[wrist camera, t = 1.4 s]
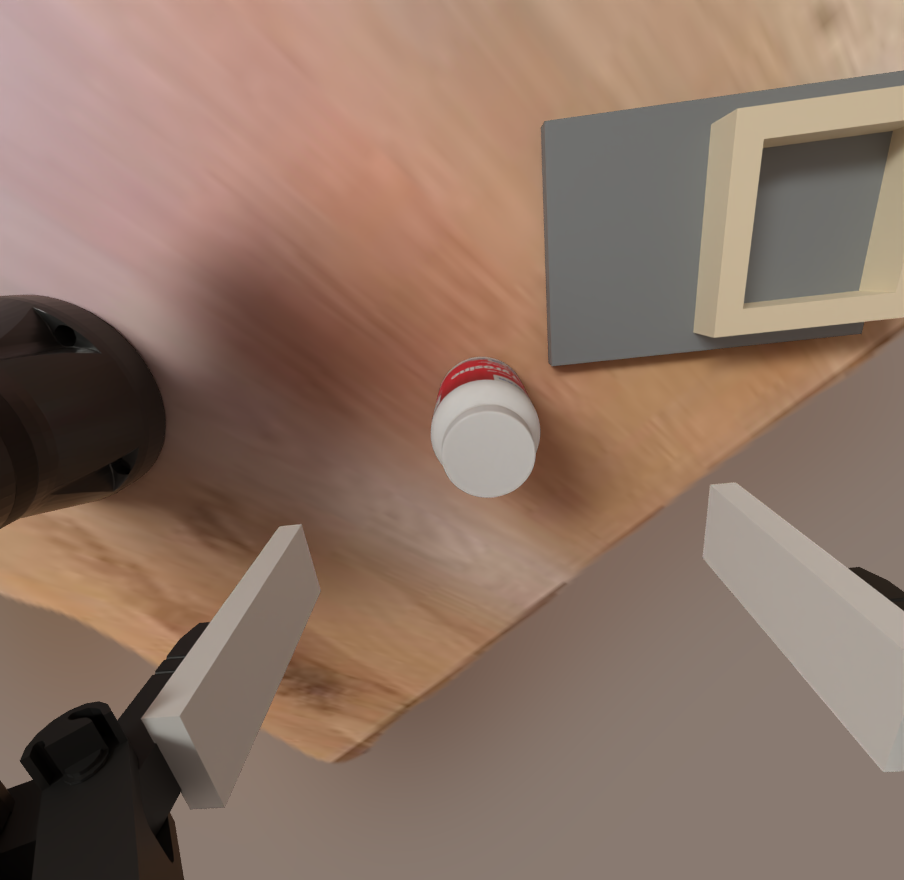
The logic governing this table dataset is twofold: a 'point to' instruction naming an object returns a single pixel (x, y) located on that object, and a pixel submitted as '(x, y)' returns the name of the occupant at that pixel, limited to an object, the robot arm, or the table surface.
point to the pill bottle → (485, 428)
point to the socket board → (725, 220)
